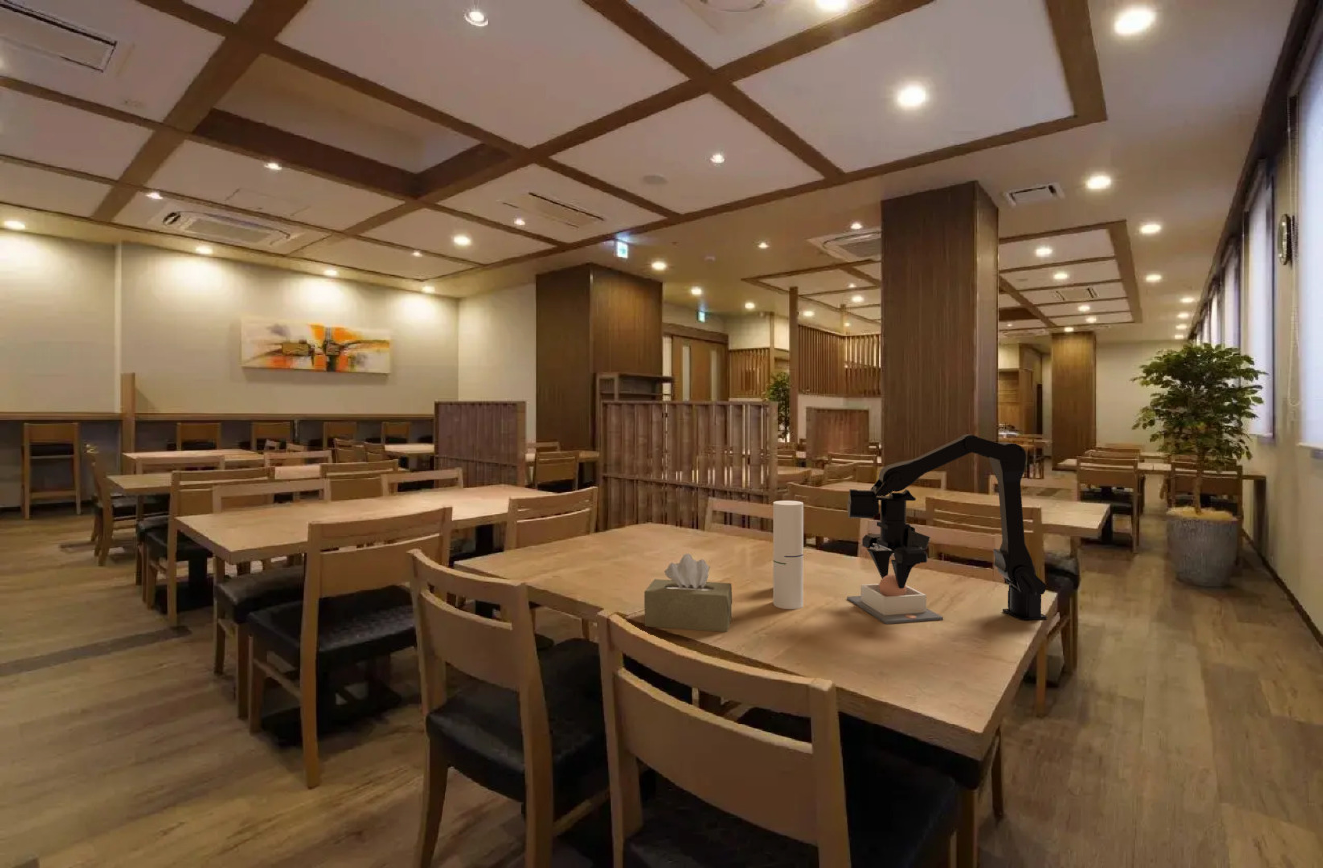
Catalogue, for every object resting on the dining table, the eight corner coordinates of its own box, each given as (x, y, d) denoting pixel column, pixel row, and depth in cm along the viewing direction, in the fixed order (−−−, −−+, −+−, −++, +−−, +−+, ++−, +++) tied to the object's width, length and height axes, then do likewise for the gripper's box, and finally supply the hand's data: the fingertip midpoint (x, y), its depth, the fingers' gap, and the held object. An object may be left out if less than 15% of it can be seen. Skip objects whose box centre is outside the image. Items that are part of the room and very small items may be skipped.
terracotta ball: (911, 603, 141) (911, 577, 141) (887, 604, 140) (888, 579, 140) (897, 595, 147) (897, 571, 147) (874, 596, 146) (874, 572, 146)
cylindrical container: (803, 610, 144) (803, 505, 143) (773, 608, 145) (773, 504, 144) (802, 600, 150) (802, 500, 150) (773, 599, 152) (773, 500, 151)
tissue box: (643, 627, 134) (642, 556, 133) (653, 612, 143) (652, 546, 143) (728, 633, 130) (728, 559, 129) (732, 617, 139) (732, 549, 139)
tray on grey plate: (943, 619, 136) (943, 599, 136) (885, 623, 134) (886, 603, 134) (898, 595, 154) (898, 577, 154) (847, 599, 152) (847, 580, 151)
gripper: (949, 524, 135) (948, 593, 136) (901, 511, 154) (901, 571, 154) (903, 526, 133) (903, 596, 134) (861, 512, 152) (861, 574, 152)
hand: (892, 583), depth 144 cm, fingers open, 7 cm apart
